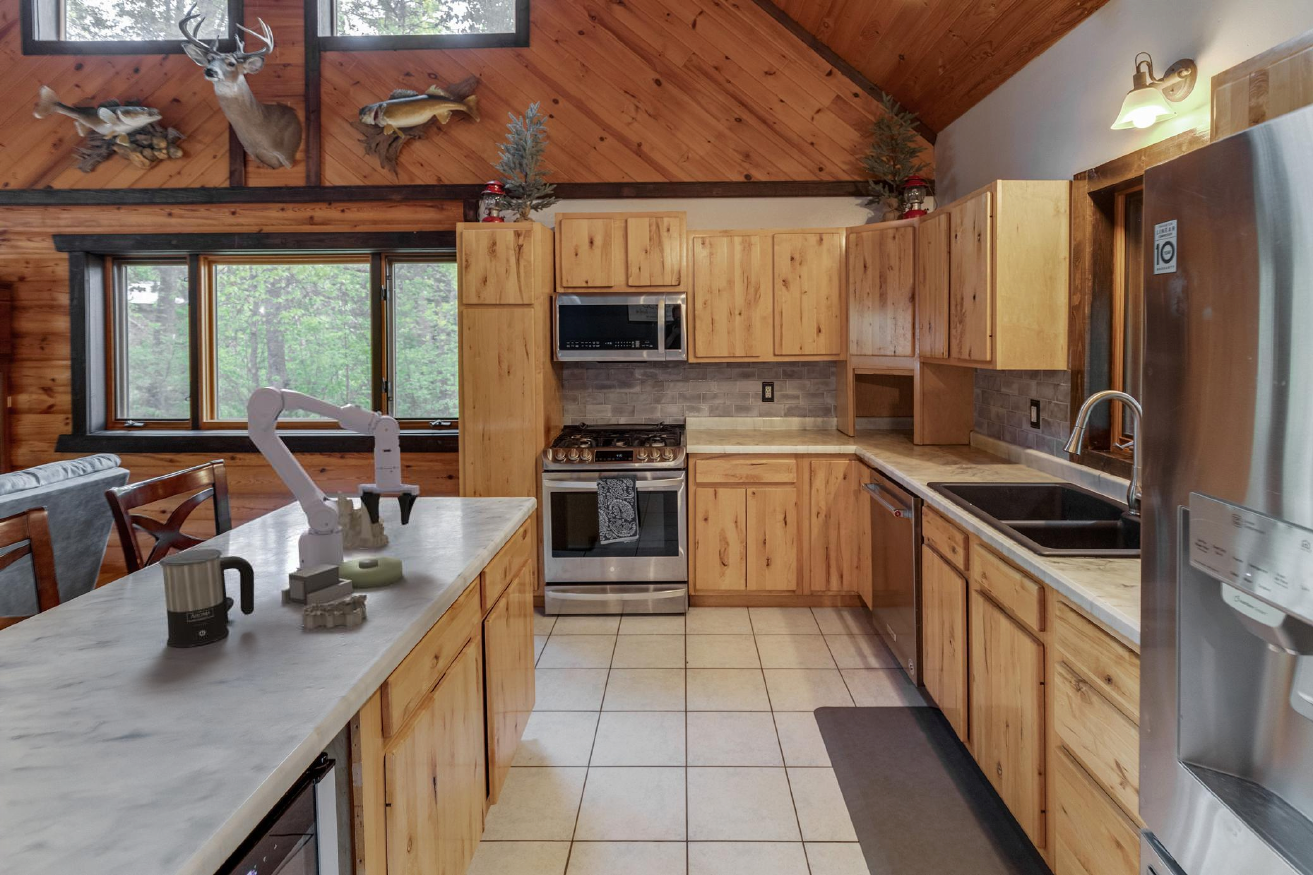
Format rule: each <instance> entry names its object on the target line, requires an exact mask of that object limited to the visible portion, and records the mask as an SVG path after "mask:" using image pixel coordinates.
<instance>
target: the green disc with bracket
mask: <svg viewBox="0 0 1313 875" xmlns="http://www.w3.org/2000/svg"><path fill="white" fill-rule="evenodd" d="M337 566H339V584H337V585H334V586H331V587H328V588H325V589H322V590H320V591H317V592H314V593H311V594H308V595H307V602H308V604H309V605H310V604H316V603H317V605H320V604H324V603H329V602H331V601H333V600H335V599H338V598H340V597H343V596H346V595H348V594H352V593H353V590H356V589H357V590H358V589H371V588H378V587H384V586H387V585H389V584H394V583H395V582H397V581H399V580H401V579H402V578H403V561H402V560H401V559H399V558H397V557H396V558H395V557H390V556H372V557H371V556H370V557H361V558H355V559H350V560H347V561H344V562H343V563H341V564H339V565H337ZM280 594H281V602H282V603H283V604H284V603H285V604H286V603H288V602H290V589H289V587H287V588H284V589H281V593H280Z"/></svg>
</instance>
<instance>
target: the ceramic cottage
mask: <svg viewBox="0 0 1313 875" xmlns="http://www.w3.org/2000/svg"><path fill="white" fill-rule="evenodd" d="M332 500H333V499H332ZM333 501H335V502H336V503H337V504H338V505H339V507H340V516H339V518H338V524H339V525H340V526H341V527H342V537H343V550H359V549H358V548H366V549H375V548H381V547H385V546H387V545H389V543H390V542H389V535H388V534H385V533H384V532H385V526H384V523H385V519H384V518H383V517H381V515H379V522H378V523H376V524H372V523H371V519H370V516H369V513H368V511H367V509H366V507H365V505H364V504H363V502H362V501H361V500H360V507H358V508H354V500H353V498H350V499H348V498H347V496H346V495H344V494H343V491H340V490H339V491H337V500H336V499H334V500H333ZM384 545H385V546H384Z"/></svg>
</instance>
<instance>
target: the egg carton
mask: <svg viewBox="0 0 1313 875" xmlns="http://www.w3.org/2000/svg"><path fill="white" fill-rule="evenodd" d="M367 596H368V595H367V594H359V595H353V596H350V598H349V599H341V600H340V601H337V602H336V601H328V602H325V603H322V604H320V605H317V603H316V604H310V605H309V604H308V605H307V606H305V607H303V608H302V610H300V613H302V615H301V618H302V619H301V620H302V626H303V625H304V626H303V627H305V626H307V629H314V628H316V627H319V626H318V625H321V626H325V625H326V628H334V627H336V626H339V625H340V626H341V625H345V626H346V627H353V626H355V625H358V624H361V623H362V622H363V621H362V620H363V618H365V617H366V616H367V604H366V603H365V602H366V601H367V598H368V597H367ZM313 627H314V628H313Z"/></svg>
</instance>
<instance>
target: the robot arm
mask: <svg viewBox="0 0 1313 875" xmlns="http://www.w3.org/2000/svg"><path fill="white" fill-rule="evenodd" d="M297 410H302V411H305V412H308V413H311V414H316V415H319V416H322V417H326V418H329V419H331V420H332V419H333V420H336V421H337V422H338V425H339V426H340V427H341V428H343V429H345V430H349V431H351V432H355V433H358V434H361V435H365V436H367V437H369V436H373V437H374V448H373V455H374V457H373V458H374V475H375V476H374V477H375V479H374V480H375V483H362V484H358V485H357V491H358V494H361V495H360V496H359V500H360V502H361V501H362V502H363V504H364V505H365V507H366V509H367V511H368V513H369V516H370V519H371V523H372V524H376V523H378V522H379V516H380V499H381V494H385V495H387V494H389V495H390V494H391V495H399V496H397V497H396V498H397V501H398V505H399V510H400V523H401V526H406V525H408V524H409V521H410V518H411V517H410V516H411V513H412V509H413V508H414V507H413V506H414V504H415V502H416V499H417V498H418V495H419V494H420V485H412V484H405V483H403V484H402V473H401V472H402V471H401V465H402V464H401V447H400V446H399V445H400V438H399V435H401V434H400V433H401V429H400V425H399V423H398V421H397V420H396V419H395V418H393V417H392V416H390V415H388V414H383V415H382V412H381V411H380V410H379V411H377V412H376V411H373V410H370V409H367V408H363V407H362V405H361V404H360V403H357V402H356V403H355V404H351V403H349V404H348V403H347V404H346V405H343V406H340V405H337V404H334V403H331V402H328V401H325V400H322V399H319V398H317V397H315V396H312V395H309V394H306V393H303V392H300V391H296V390H294V389H287V388H282V389H281V388H280V387H278V386H274V385H267V386H264V387H260V388H258V389H256V390H254V391H253V392H252V393H251V395H250V397H249V399H248V402H247V405H246V412H247V434H248V437H249V438H250V440H251V442H253V444H254V445H255V447H256V448H257V449H258V450H259V452H260V453H261V454H262V456H263V457H264V458H265V459H266V461H267V462H268V463H269V464H270V466H271V467H272V468H273V470H274V471H275V473H276V474H277V475H278V476H279V477H280V479H281V480H282V481H283V483H284V484H285V485H286V487H287V488H288V489H289V490H290V491H291V493H292V494H293V496H294V497H295V498H296V499H297V500H298V502H299V505H300V507H301V509H302V511H303V513H305V515H306V518H307V523H308V526H309V528H308V529H305V530H304V531H303V532H302V533H301V534H300V536H299V538H298V542H297V543H298V562H299V566H297V567H296V570H297V571H300V570H303V569H306V568H309V567H312V566H315V565H319V564H328V565H334V566H337V565H339V564H341V563H343V562H345V561H344V558H345V556H344V549H343V537H342V527H341V526H340V525H339V524H338V518H339V516H340V507H339V505H338V504H337V503H336V502H335V501H333V499H331V498H329V497H328V496H327V495H326V494H325V493H324V492H323V490H321V489H320V488H319V487H318V486H317V485H316V483H315V482H314V481H313V479H311V477H310V476H309V474H308V473H307V472H306V470H305V469H304V468H303V467H302V465H301V464H300V463H299V461H298V460H297V458H296V457H295V456H294V455H293V453H291V451H290V450H289V448H288V447H287V446H286V445H285V442H283V440H282V439H281V437H279V435H278V434H277V432H276V427H277V424H278V420H279V417H280V415H281V414H282V412H283V411H284V412H290V411H297Z"/></svg>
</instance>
